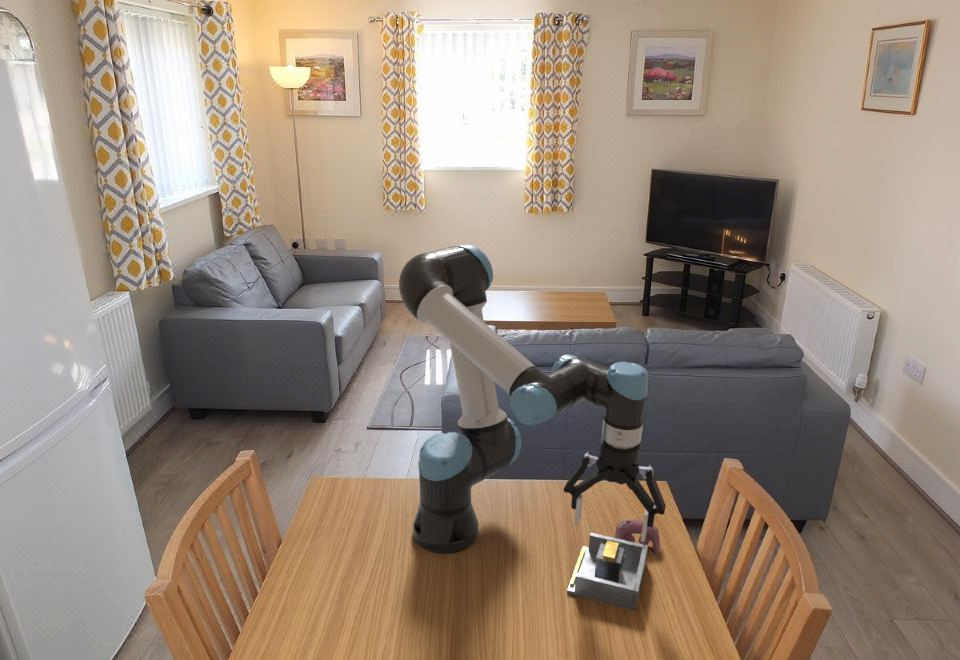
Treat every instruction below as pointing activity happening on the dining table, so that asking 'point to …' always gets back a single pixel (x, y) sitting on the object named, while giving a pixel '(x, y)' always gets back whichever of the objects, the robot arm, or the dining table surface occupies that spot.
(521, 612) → the dining table surface
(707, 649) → the dining table surface
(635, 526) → the video game controller
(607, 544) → the grey and yellow block
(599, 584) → the open box
